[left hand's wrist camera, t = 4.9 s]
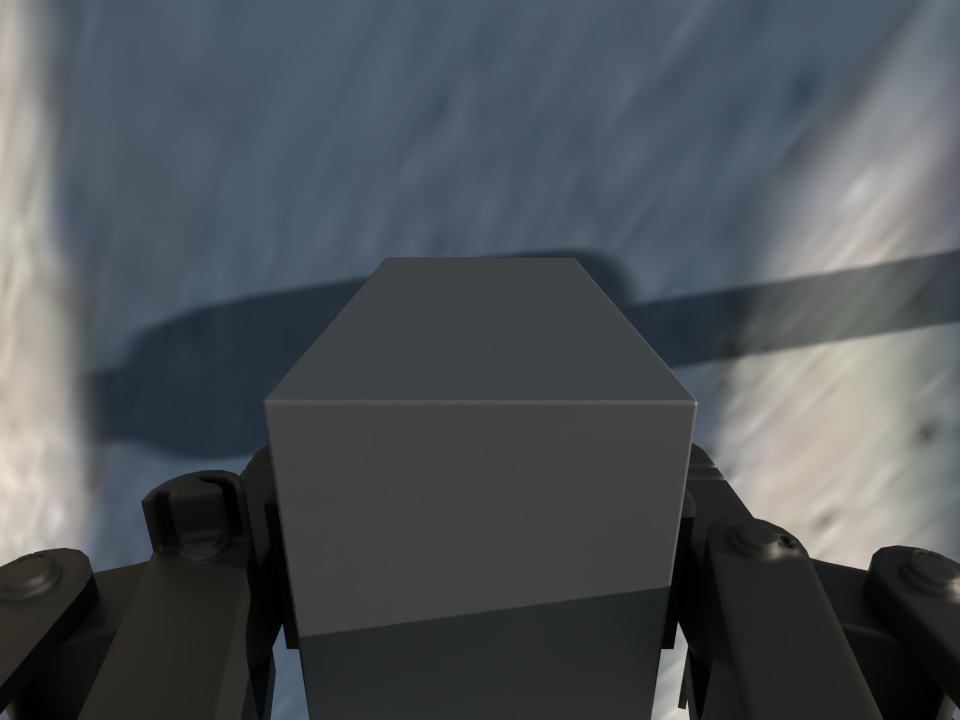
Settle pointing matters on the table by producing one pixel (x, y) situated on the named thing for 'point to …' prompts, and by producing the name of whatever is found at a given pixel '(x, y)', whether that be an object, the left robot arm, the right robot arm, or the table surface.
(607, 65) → the table surface
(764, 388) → the table surface
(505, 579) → the bar
